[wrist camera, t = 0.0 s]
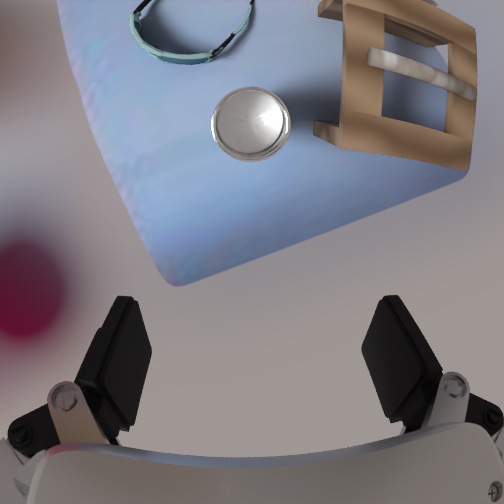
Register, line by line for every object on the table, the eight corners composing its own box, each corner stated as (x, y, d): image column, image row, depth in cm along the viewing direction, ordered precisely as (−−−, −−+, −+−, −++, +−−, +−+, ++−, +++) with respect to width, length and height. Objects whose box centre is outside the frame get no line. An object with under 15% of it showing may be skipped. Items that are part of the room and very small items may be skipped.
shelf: (317, 5, 26) (352, -33, 14) (426, 36, 27) (485, 27, 15) (313, 134, 36) (348, 152, 24) (419, 150, 37) (477, 176, 24)
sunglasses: (120, 41, 28) (108, 31, 23) (186, -28, 24) (183, -44, 19) (197, 85, 32) (193, 77, 28) (264, 12, 28) (270, -2, 24)
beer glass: (282, 104, 34) (307, 105, 21) (260, 149, 37) (272, 176, 24) (234, 84, 32) (228, 71, 19) (213, 130, 35) (196, 146, 22)
